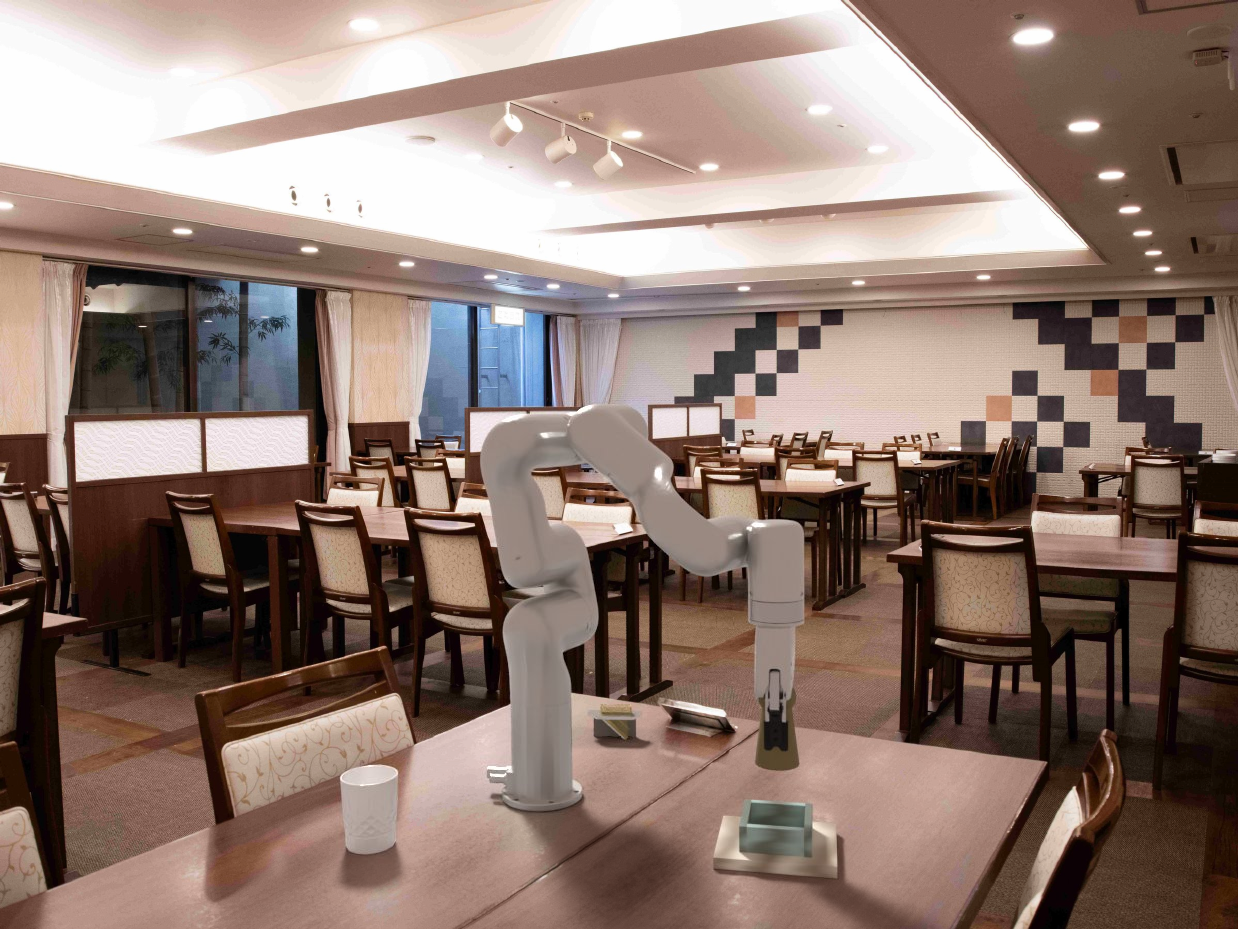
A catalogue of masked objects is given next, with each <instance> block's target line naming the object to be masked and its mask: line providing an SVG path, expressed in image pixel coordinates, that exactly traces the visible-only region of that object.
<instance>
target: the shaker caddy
mask: <svg viewBox="0 0 1238 929" xmlns="http://www.w3.org/2000/svg"><path fill="white" fill-rule="evenodd" d="M813 805H814V804H813V803H810V802H809V803H808V802H793V801H778V800H762V799H750V798H749V799H747V798H746V799H745V798H744V800H743V806H742V810H741V816H736V815H723V816H722V821H721V824H720V828H719V832H718V835H717V840H716V845H715V849H714V852H713V855H712V869H713V870H725V871H726V870H727V871H736V872H737V871H740V872H750V873H751V872H753V873H763V874H776V875H789V876H798V877H799V876H800V877H812V878H815V877H816V878H824V879H825V878H828V879H838V848H837V847H838V846H837V843H838V842H837V841H838V840H837V823H836V822H825V821H814V818H813V815H814V813H813V812H814V811H813V810H814V809H813Z"/></svg>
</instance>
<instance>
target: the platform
mask: <svg viewBox="0 0 1238 929" xmlns="http://www.w3.org/2000/svg"><path fill="white" fill-rule="evenodd" d="M618 706H619V709H618ZM599 708H600V709H589V710H588V712H587V716H589V717H591V718H593V737H602V736H621V737H620V738H621V739H622V740H628V739H629V737H628V736H632V737H631V738H637V719H639V718H640V717H641V716H642V715H643V713H642V710H632V704H631V703H628V704H627V703H626V704H625V703H614V706H606V705H604V704H603V703H600V706H599ZM627 738H628V739H627Z"/></svg>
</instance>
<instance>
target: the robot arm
mask: <svg viewBox="0 0 1238 929" xmlns="http://www.w3.org/2000/svg"><path fill="white" fill-rule="evenodd" d="M648 438H649V428H648V424H647V422H646V420H645V418H644V417H643V415H642V414H641V413H640V412H639V411H638V410H637V409H635V408H634V407H632V406H629V405H626V404H619V403H618V404H617V403H614V404H613V403H612V404H611V403H610V404H609V403H606V404H605V403H596V404H589V405H586V406H584V407H581V408H580V409H578V410H577V411H576V412H567V413H565V412H564V413H524V414H516V415H512V416H509V417H507V418H504V419H502V420H500V421H499V422H498V423H496V424H495V425H494V426H493V427H492V428H491V429H490V430H489V432H488V433H487V434H486V437H485V439H484V441H483V443H482V446H481V451H480V457H479V458H480V460H479V461H480V462H479V464H480V472H481V477H482V481H483V484H484V488H485V492H486V494H487V499H488V502H489V506H490V512H491V513H490V514H491V520H492V525H493V531H494V537H495V542H496V548H497V552H498V559H499V563H500V564H499V565H500V567H501V568H500V569H501V572H502V575H503V577H504V580H506V582H507V583H508V585H510V586H511V587H512V588H516V589H520V590H527V589H528V590H529V589H533V588H538V587H539V588H540V587H543V591H544V593H543V594H540V595H539V594H538V595H535V596H532V597H529V598H526V599H523V600H521V601H520V602H518V603H516V604H515V605H513V607H512V608H511V609H510V610H509V611H508V612H507V614H506V616H505V618H504V621H503V626H502V638H503V643H504V644H503V645H504V649H505V654H506V657H507V658H506V659H507V663H508V666H507V667H508V672H509V673H508V675H509V693H510V694H509V700H510V738H511V739H510V742H511V743H510V744H511V745H510V746H511V750H510V751H511V752H510V754H511V765H507V766H506V767H500V766H498V765H497V766H494V765H489V766H488V767H487V770H486V778H487V779H489V780H488V781H489V783H490V784H503V785H504V787H503V788H502V790H501V799H502V801H503V802H504V803H505V804H506V805H508V806H509V807H511V808H514V809H517V810H522V811H527V812H528V811H529V812H549V811H556V810H560V809H561V810H562V809H566V808H568V807H570V806H573V805H575V804H576V803H578V802H579V801H580V800H581V799H582V797H583V794H584V793H583V786H582V784H580V783H579V782H578V781H577V780H575V779H573V727H572V726H573V721H572V720H573V717H572V715H573V714H572V713H573V712H572V704H573V703H572V682H571V677H570V673H569V670H568V667H567V665H566V662H565V660H564V655H563V653H564V652H567V651H569V650H571V649H574V648H576V647H579V646H581V645H584V644H585V643H586V642H588V641H589V640H590V639H591V638H592V637H593V636H594V635H595V633H596V630H597V629H598V628H597V627H598V625H599V606H598V602H597V595H596V591H595V584H594V579H593V573H592V568H591V563H590V558H589V557H590V556H589V553H588V549H587V546H586V543H585V542H584V540H583V538H582V536H581V535H580V534H579V533H578V531H577V530H576V529H575V528H573V527H572V526H571V525H567V524H565V523H560V522H552V523H550V522H549V519H548V514H547V509H546V502H545V499H544V495H543V493H542V491H541V488H540V486H539V484H538V483H537V481H536V480H535V479H534V477H533V475H532V471H533V470H535V469H546V468H547V469H549V468H557V467H558V468H559V467H568V466H569V467H570V466H575V465H584V464H587V465H589V466H590V468H592V469H593V470H595V472H596V473H598V474H599V475H600V476H601V477H602V478H603V479H605V480H606V481H607V482H609V484H611V485H612V487H614V488H615V489H616V490H617V491H618V492H619V493H620V494H622V495H623V496H624V497H625V498H626V499H627V500H628V501H629V502H630V503H631V504H632V505H633V509H634V512H635V514H636V517H637V519H638V520H639V522H640V524H641V526H642V528H643V529H644V531H645V533H646V534H647V536H648V537H649V538H650V539H651V540H652V541H653V543H654V544H656V545H657V546H658V547H659V549H661V550H662V551H663V552H664V553H666V555H668V557H669V558H671V559H672V560H673V561H674V562H676V563H677V564H678V565H679V566H680V567H682V568H683V569H685V570H686V571H687V572H689V573H692V574H694V575H697V576H700V577H713V576H717V575H720V574H722V573H726V572H729V571H733V570H737V569H741V568H746V567H747V592H748V593H747V604H748V605H747V607H748V608H747V615H748V616H747V617H748V618H747V621H748V623H749V624H751V625H753V626H755V632H754V633H755V635H754V687H753V688H754V693H753V694H754V695H753V696H754V698H755V699H756V700H759V698H760V697H761V698H763V696H764V694H765V720H764V749H765V750H769V751H771V750H772V749H773V748H774V747H779V749H780V750H781V751H787V750H788V721H786V701H787V700H789V699H790V698H791V693H792V687H793V688H794V686H793V685H794V680H795V678H794V677H795V669H796V668H795V666H796V665H795V664H796V627H799V626H802V625H804V624H805V533H804V528H803V526H802V525H801V524H800V523H799V522H798V521H795V520H789V519H779V518H778V519H757V518H752V517H748V516H741V515H735V514H733V515H731V514H729V515H728V514H727V515H723V516H716V517H712V518H708V519H707V518H706V517H704V516H703V515H702V514H700V513H699V512H698V511H697V510H695V509H694V508H693V507H692V506H691V505H689V503H687V502H686V501H685V500H684V499H683V498H682V497H681V496H680V494H679V493H678V492H677V491H676V489H675V487H674V486H673V482H672V476H673V472H674V463H673V461H672V459H671V458H670V456H669V455H668V454H666V453H665V452H664V451H663V450H661V449H660V448H659V447H658V446H656V445H655V444H653V443H652V442H651V441H650V440H649V439H648ZM768 693H769V694H770V698H769V697H768ZM779 694H783V698H779ZM769 703H770V705H769ZM779 703H782V707H781V706H780V704H779Z"/></svg>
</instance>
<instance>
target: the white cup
mask: <svg viewBox="0 0 1238 929" xmlns="http://www.w3.org/2000/svg"><path fill="white" fill-rule="evenodd" d="M339 781H340V782H339V783H340V795H341V807H342V808H341V810H342V818H343V821H342V822H343V827H344V828H343V829H344V836H345V840H344V841H345V847H346V849H347V850H348V852H350V853H353V854H355V855H373V854H379V853H383V852H385V851H387V850H389V849H391V848H392V847H394V845H395V842H396V840H397V839H396V838H397V835H396V834H397V821H398V820H397V819H398V801H399V800H398V794H399V790H398V789H399V786H398V785H399V770H398V769H396V768H395V767H392V766H390V765H383V764H371V765H370V764H369V765H365V766H364V765H363V766H356V767H354V768H350V769H349V770H346V771H344V772H343V773H342V774H341V775H340V777H339Z"/></svg>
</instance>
